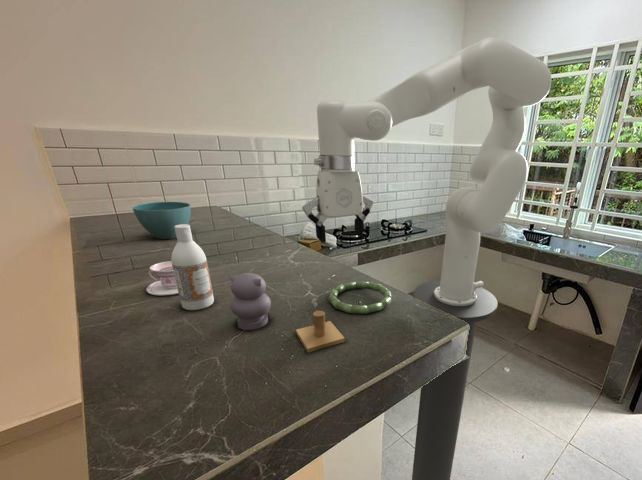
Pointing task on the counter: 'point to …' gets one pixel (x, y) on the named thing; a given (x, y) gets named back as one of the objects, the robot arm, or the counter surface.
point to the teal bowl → (162, 217)
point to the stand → (319, 333)
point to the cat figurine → (249, 300)
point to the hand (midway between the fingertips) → (341, 238)
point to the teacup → (163, 280)
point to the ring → (358, 308)
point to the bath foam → (191, 271)
